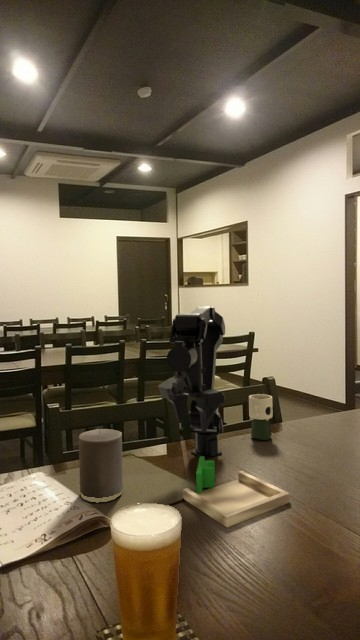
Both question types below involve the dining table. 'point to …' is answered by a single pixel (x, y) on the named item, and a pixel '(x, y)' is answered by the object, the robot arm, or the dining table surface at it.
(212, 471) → the pipe clamp
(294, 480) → the dining table surface
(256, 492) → the corral
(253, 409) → the character mug
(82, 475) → the pillar candle
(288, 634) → the dining table surface
